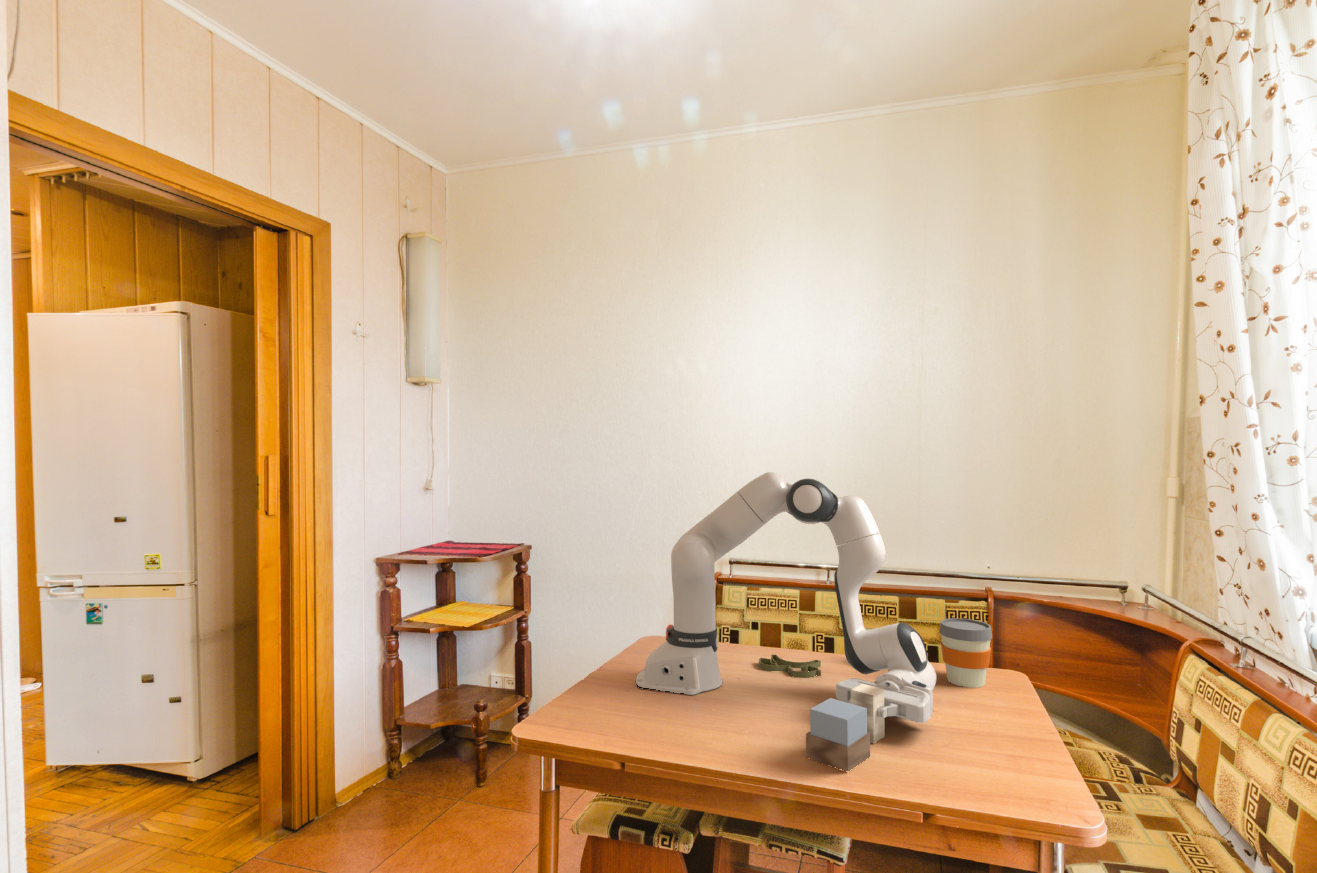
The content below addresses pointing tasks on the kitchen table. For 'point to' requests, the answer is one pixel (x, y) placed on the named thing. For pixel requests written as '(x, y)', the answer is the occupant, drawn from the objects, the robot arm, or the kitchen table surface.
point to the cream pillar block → (870, 708)
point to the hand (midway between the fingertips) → (865, 709)
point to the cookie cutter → (791, 666)
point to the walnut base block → (838, 752)
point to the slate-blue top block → (838, 721)
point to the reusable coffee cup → (966, 651)
